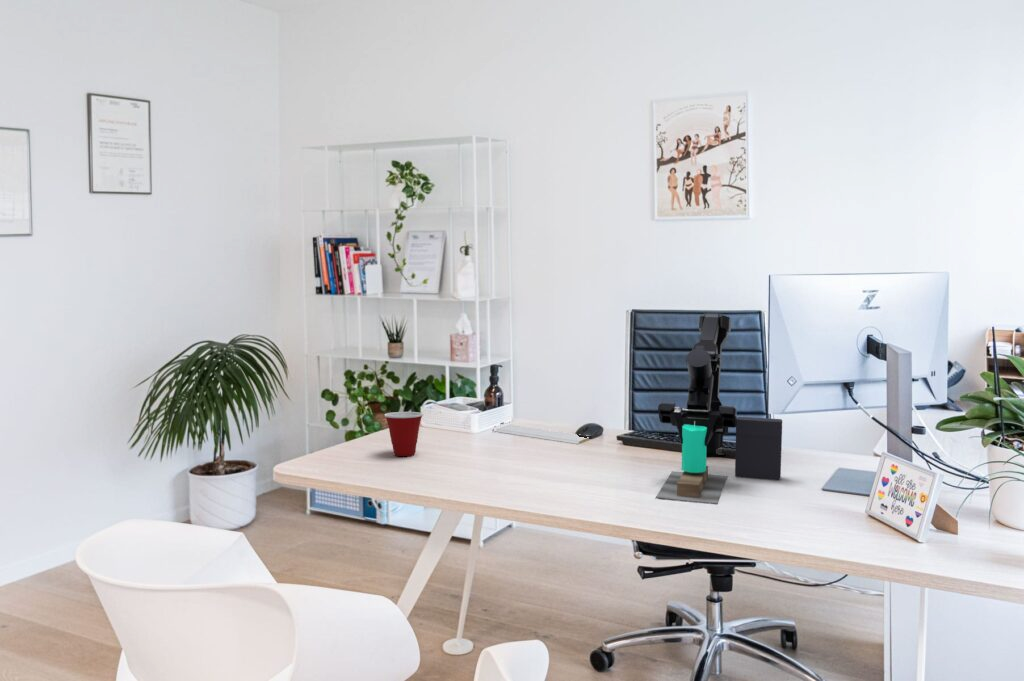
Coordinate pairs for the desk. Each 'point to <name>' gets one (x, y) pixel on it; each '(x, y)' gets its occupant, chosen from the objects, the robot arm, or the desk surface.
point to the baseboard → (541, 434)
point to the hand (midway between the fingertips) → (693, 444)
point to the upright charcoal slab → (758, 448)
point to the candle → (694, 448)
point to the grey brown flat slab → (693, 487)
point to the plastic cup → (404, 431)
